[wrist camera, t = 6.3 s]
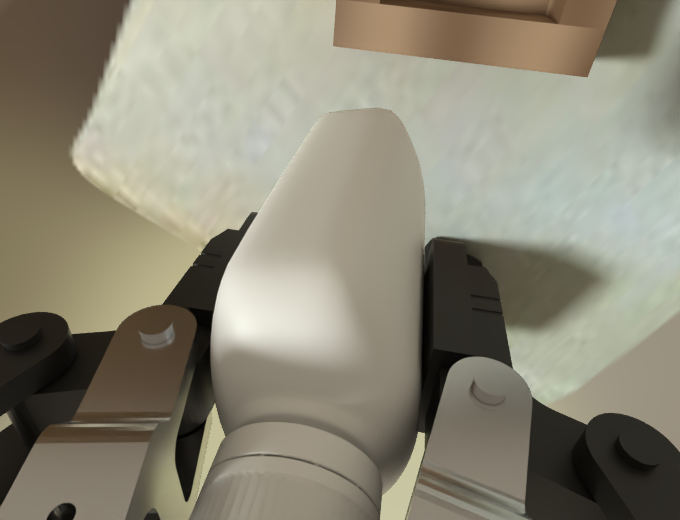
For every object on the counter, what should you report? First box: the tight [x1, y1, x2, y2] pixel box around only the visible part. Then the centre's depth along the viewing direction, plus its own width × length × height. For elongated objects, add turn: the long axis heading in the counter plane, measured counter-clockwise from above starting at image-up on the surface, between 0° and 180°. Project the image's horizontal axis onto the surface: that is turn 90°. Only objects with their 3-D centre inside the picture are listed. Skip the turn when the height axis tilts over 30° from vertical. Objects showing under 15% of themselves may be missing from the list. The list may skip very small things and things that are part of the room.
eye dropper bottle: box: [189, 108, 425, 520], centre depth 9 cm, size 4×6×12 cm
